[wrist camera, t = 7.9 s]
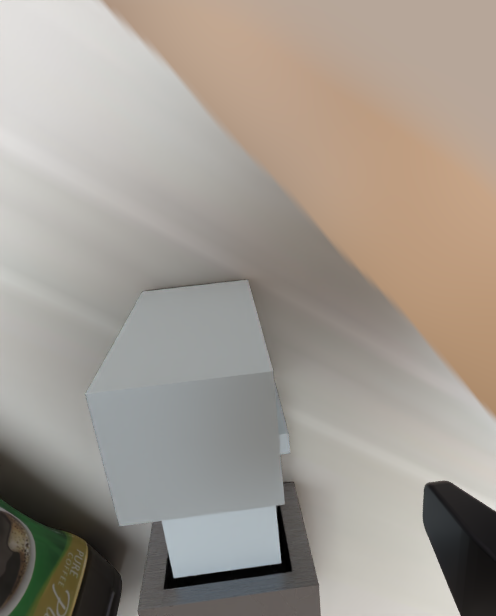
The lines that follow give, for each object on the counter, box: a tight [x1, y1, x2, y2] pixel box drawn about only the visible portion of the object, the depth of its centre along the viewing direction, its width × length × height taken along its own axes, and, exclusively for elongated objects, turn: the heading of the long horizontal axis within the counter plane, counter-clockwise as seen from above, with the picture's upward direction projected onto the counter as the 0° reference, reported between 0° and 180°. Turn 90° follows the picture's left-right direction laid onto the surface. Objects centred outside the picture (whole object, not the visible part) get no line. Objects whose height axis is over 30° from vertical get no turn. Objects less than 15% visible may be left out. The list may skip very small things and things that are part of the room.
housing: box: [138, 482, 321, 616], centre depth 20 cm, size 7×7×6 cm
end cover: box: [85, 280, 290, 578], centre depth 16 cm, size 11×6×8 cm, turn 6°
